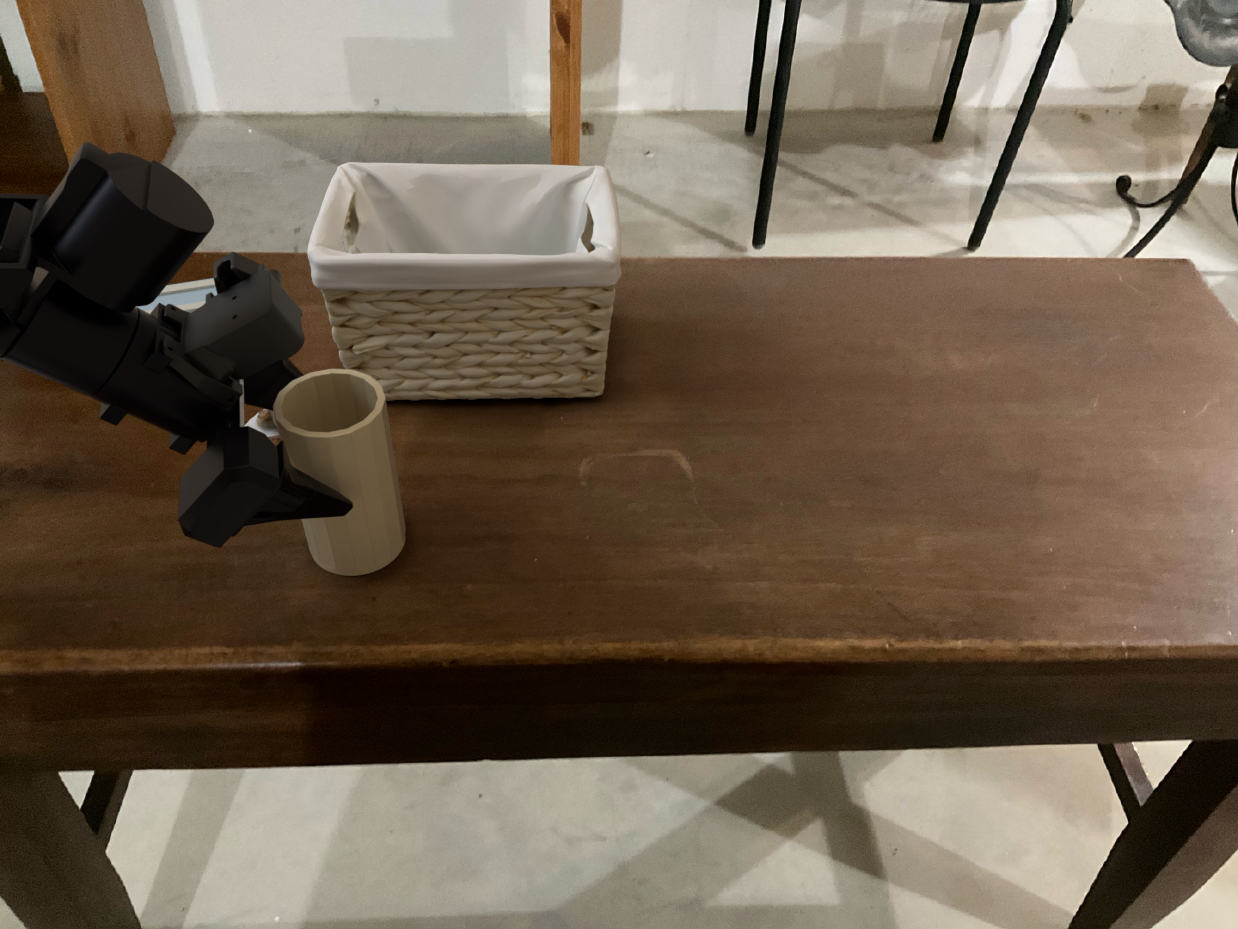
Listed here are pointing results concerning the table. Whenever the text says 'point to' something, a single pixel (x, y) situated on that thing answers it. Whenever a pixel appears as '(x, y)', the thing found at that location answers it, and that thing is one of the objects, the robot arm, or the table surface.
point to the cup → (345, 466)
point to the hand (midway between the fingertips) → (343, 461)
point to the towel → (184, 295)
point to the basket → (470, 277)
